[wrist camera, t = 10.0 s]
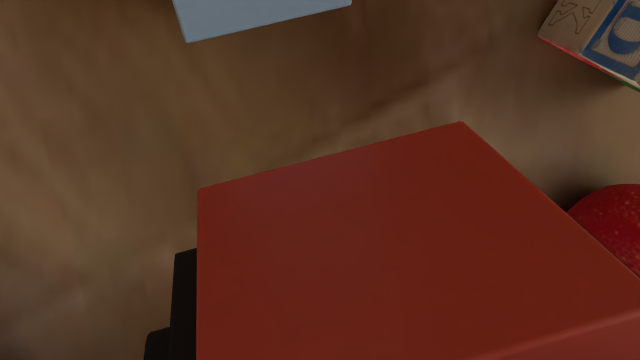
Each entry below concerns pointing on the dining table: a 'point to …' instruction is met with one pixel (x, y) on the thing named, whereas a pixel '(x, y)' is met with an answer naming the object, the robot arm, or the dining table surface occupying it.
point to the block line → (242, 14)
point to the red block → (405, 262)
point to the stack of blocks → (598, 35)
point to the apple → (613, 220)
